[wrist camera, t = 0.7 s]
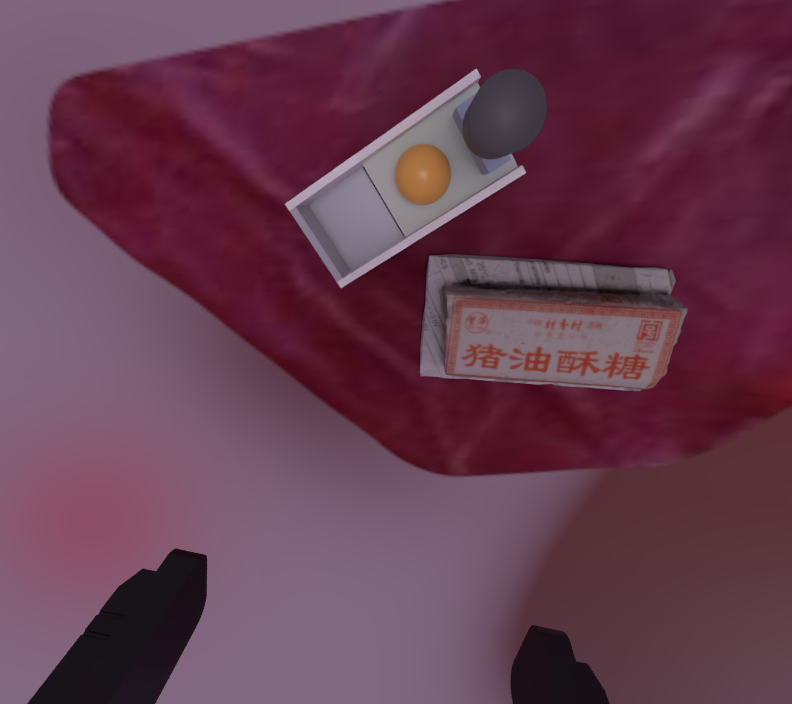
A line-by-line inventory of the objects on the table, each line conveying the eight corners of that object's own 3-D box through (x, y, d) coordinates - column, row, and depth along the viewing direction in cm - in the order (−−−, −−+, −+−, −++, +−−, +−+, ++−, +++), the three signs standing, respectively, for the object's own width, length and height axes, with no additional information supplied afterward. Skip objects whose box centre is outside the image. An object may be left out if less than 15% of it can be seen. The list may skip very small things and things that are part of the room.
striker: (484, 93, 25) (521, 38, 16) (513, 155, 27) (564, 137, 17) (440, 123, 26) (451, 86, 17) (471, 182, 27) (497, 179, 18)
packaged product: (711, 278, 27) (665, 414, 30) (669, 265, 31) (634, 385, 35) (428, 261, 27) (417, 397, 31) (427, 251, 32) (418, 370, 35)
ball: (432, 134, 27) (433, 127, 23) (458, 185, 28) (463, 184, 24) (386, 166, 27) (381, 163, 24) (413, 214, 28) (412, 217, 25)
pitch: (470, 82, 27) (476, 68, 24) (514, 174, 29) (526, 172, 26) (361, 158, 29) (354, 154, 26) (409, 240, 31) (408, 245, 28)
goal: (361, 158, 29) (354, 154, 26) (409, 240, 31) (408, 246, 28) (299, 202, 31) (284, 203, 27) (349, 278, 32) (340, 288, 29)
